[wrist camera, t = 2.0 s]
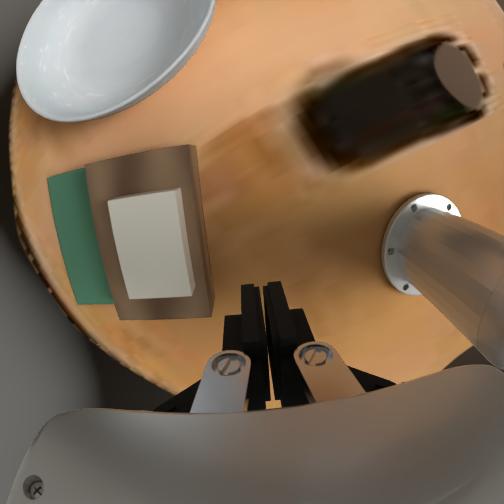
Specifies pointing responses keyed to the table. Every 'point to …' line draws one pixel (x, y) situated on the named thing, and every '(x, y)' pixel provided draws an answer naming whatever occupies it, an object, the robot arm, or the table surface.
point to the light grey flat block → (152, 244)
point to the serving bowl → (105, 53)
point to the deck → (187, 177)
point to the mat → (78, 237)
